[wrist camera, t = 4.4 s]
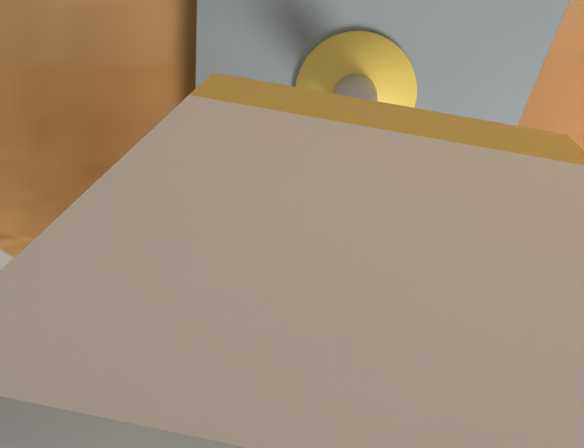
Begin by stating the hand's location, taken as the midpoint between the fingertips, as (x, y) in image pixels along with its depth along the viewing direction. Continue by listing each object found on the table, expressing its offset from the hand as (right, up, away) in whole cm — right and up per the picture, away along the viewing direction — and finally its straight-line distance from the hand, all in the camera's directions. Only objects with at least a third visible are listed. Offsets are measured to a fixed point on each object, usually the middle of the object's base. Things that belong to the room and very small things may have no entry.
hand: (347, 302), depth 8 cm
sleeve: (0, +1, +1) cm, 2 cm away
